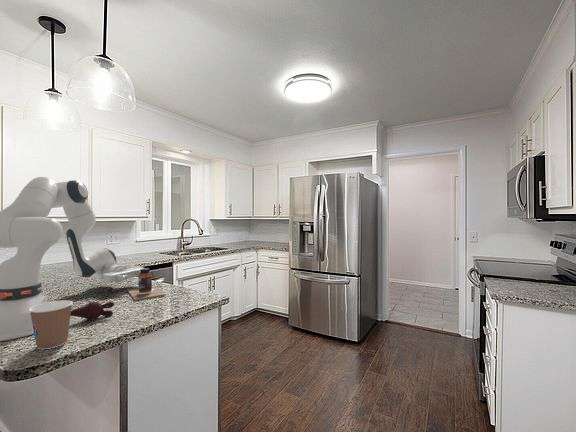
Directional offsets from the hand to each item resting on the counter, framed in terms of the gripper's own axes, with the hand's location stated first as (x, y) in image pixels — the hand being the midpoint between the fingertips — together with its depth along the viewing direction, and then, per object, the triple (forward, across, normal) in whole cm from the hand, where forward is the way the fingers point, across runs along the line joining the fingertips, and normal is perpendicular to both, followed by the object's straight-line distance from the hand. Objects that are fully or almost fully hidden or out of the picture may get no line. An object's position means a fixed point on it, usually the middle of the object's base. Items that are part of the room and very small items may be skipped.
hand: (134, 275), depth 145 cm
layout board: (+8, 0, +8) cm, 11 cm away
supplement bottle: (+8, 0, +7) cm, 11 cm away
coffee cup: (+32, -49, +8) cm, 59 cm away
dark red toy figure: (+21, -32, +8) cm, 40 cm away
